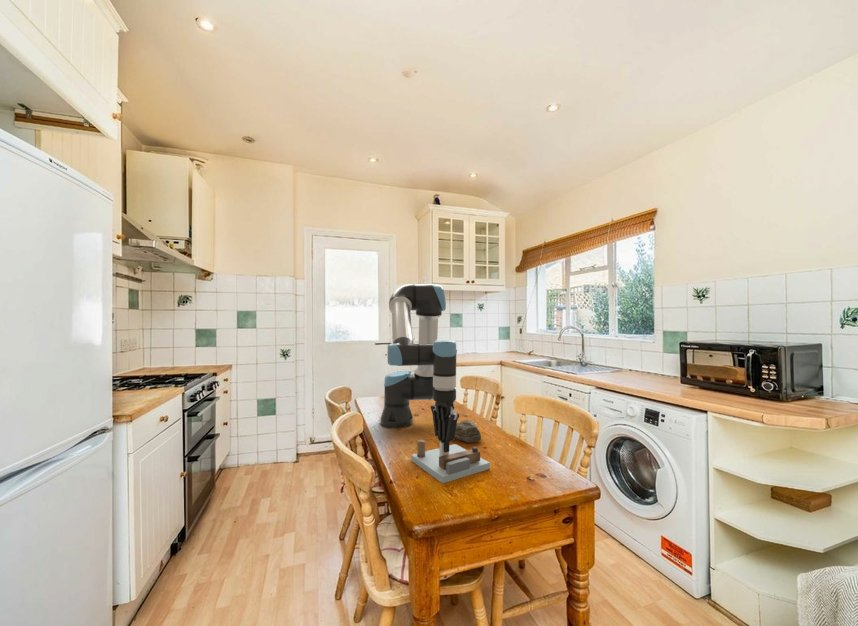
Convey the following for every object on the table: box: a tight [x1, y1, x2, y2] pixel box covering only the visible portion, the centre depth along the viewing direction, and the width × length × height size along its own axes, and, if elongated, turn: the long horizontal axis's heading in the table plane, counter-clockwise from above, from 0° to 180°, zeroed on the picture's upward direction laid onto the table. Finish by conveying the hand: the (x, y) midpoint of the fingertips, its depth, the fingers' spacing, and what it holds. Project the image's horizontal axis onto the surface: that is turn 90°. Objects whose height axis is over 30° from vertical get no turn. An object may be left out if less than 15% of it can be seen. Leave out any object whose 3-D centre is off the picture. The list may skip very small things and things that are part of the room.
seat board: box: [410, 439, 491, 484], centre depth 117 cm, size 19×19×7 cm
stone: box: [454, 419, 482, 444], centre depth 142 cm, size 14×10×10 cm
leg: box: [439, 446, 481, 470], centre depth 112 cm, size 14×3×4 cm, turn 118°
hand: (444, 460), depth 112 cm, fingers closed
